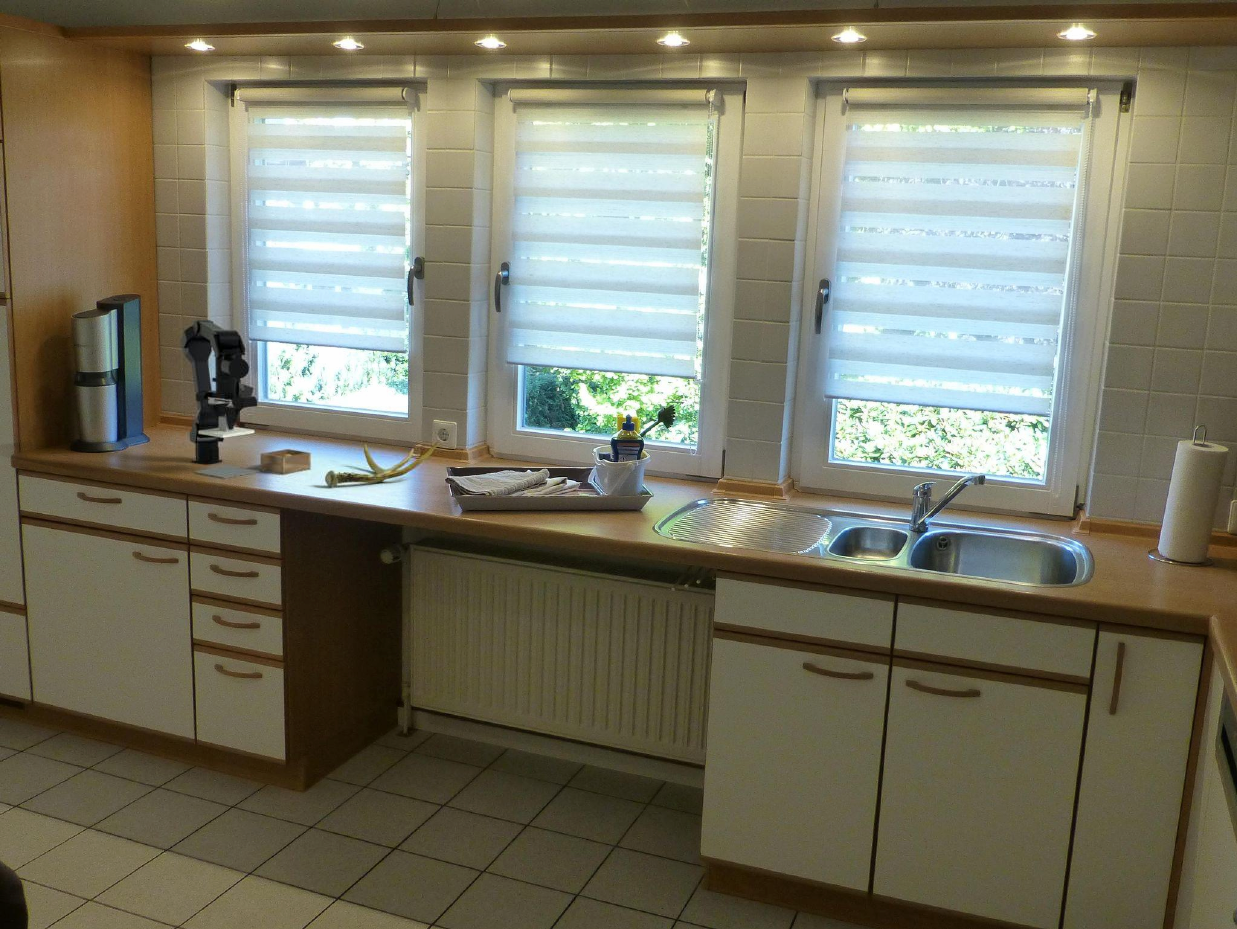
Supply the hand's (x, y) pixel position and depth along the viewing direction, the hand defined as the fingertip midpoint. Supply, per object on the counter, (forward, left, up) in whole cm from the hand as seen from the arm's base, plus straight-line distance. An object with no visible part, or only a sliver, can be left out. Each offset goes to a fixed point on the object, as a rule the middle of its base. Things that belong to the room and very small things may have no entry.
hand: (226, 428), depth 312 cm
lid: (0, 0, -1) cm, 1 cm away
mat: (0, 0, -13) cm, 13 cm away
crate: (+9, +14, -13) cm, 21 cm away
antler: (+40, +23, -13) cm, 48 cm away
